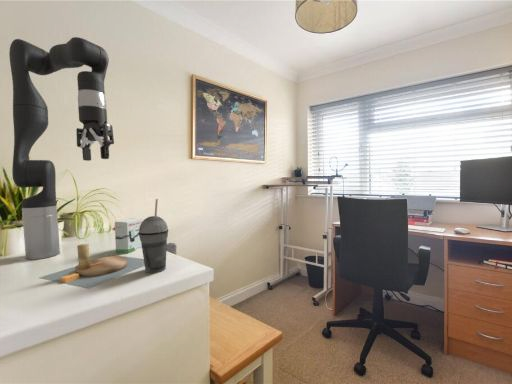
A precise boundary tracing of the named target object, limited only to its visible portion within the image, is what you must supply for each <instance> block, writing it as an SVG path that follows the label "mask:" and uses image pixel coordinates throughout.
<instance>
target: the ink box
mask: <svg viewBox="0 0 512 384" xmlns="http://www.w3.org/2000/svg"><path fill="white" fill-rule="evenodd" d="M143 220H144V219H143V218H128V219H122V220H117V221H116V220H115V222H114V235H115V237H114V238H115V253H116V254H124V255H127V254H131V253H133V252H136V251H138V250H139V249H142V244H141V241H140V237H139V234H138V233H139V227H140V225H141V223H142V222H143Z"/></svg>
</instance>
